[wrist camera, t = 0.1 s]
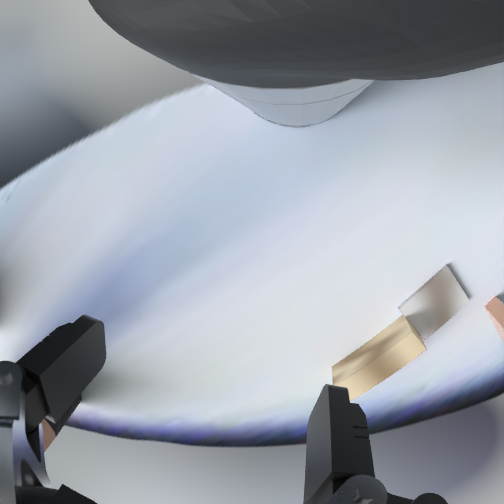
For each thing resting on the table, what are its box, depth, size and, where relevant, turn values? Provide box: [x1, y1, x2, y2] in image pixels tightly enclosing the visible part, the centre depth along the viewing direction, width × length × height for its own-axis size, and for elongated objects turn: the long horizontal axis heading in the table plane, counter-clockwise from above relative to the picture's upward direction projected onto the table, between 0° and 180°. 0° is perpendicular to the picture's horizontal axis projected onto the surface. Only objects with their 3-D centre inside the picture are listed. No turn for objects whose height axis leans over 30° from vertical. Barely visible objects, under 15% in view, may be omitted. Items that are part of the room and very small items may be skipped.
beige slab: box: [332, 265, 470, 401], centre depth 26 cm, size 15×5×3 cm, turn 137°
